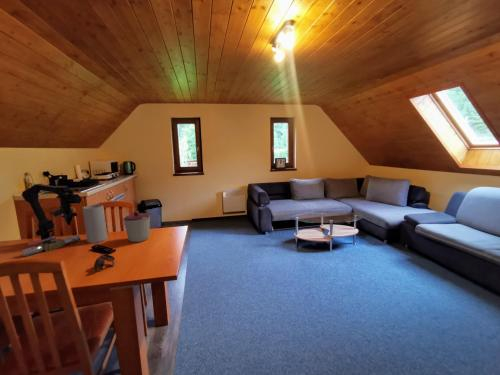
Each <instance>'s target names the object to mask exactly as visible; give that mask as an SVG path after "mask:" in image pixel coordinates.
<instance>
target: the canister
mask: <svg viewBox="0 0 500 375" xmlns="http://www.w3.org/2000/svg"><path fill="white" fill-rule="evenodd" d="M150 218H151V215H150V214H149V213H145V212H140V211H138V210H134V211H133V214H129V215H126V216H125V217H124V218H122V222H123V223H124V228H125V232H126V236H127V239H128V240H129V241H130V242H131V243H140V242H145V241H146V240H148V239H149V238H150V230H151V229H150V228H151V227H150V224H151V222H150V221H151V219H150Z"/></svg>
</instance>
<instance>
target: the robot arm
mask: <svg viewBox="0 0 500 375" xmlns="http://www.w3.org/2000/svg"><path fill="white" fill-rule="evenodd" d="M41 191H43V192H50V193H54V194H55V195H57V196H56V197H55V198H56V199H59V202H60V203H59V204H60V205H59V206H58V208H56V209H55V210H53V211H51V212H50V213H51V215H52V216H53V217H58V216H60V217H61V218H62V219H64V221H65V223H66V224H67V226H70V225H71V223H72V220H73V218H74V217H78V212H75V211H74V210H72V206H73V204H75V205H76V204H81V202H82V197H81V195H79V193H74V192H73V191H72V189H71V188H70V187H69V186H68V185H60V186H59V185H57V186H56V185H51V184H50V185H48V184H43V183H36V184H33V185H32V186H31V187H28V188H27V189H25V190H22V193H21V196H22V198H23V200H25V202H26V203H28V204H29V205H30V207H31V209H32V211H33V213H34V215H35V217H36V219H37V221H38V224H37V227H38V229H37V230H36V232H35V234H36V236H40V240H42V239H46V238H49V237H51V236H52V235H51V233H53V232H54V229H55V223H54V222H53V219H49V218H48V217H47V216H46V214H45V211H44V210H43V207H42V206H41V204H40V202H39V198H40V196H39V193H41ZM49 241H51V240H47V241H43V242H49ZM43 242H41V243H40V244H42V243H43Z"/></svg>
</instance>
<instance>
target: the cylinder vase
mask: <svg viewBox="0 0 500 375" xmlns="http://www.w3.org/2000/svg"><path fill="white" fill-rule="evenodd" d="M82 213H83V222H84V228H85V233H86V234H85V235H86V242H87V243H89V244H97V243H102V242H105V241H106V240H107V239H108V232H107V223H106V219H105V218H106V216H105V209H104V205H103V204H92V205H86V206H83V207H82Z"/></svg>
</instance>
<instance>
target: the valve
mask: <svg viewBox="0 0 500 375" xmlns="http://www.w3.org/2000/svg"><path fill="white" fill-rule="evenodd" d="M80 241H81V235H79V234H76V235H73V236H69V237H65V238H60V237H59V238H57V239H56V238H55V239H52V240H51V241H49V242H43V243H41V244H40V245H36V246H35V245H34V246H31V247H28V248H25V249H24V248H23V249H22V250H21V252H22V255H23V257H24V258H25V257H27V256H31V255H35V254H38V253H42V252H45V253H46V252H51V251H54V250H58V249H62V248H65V246H67V245H70V244H73V243H77V242H80Z"/></svg>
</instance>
